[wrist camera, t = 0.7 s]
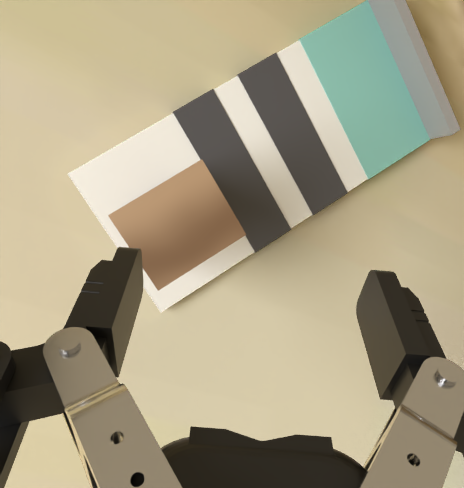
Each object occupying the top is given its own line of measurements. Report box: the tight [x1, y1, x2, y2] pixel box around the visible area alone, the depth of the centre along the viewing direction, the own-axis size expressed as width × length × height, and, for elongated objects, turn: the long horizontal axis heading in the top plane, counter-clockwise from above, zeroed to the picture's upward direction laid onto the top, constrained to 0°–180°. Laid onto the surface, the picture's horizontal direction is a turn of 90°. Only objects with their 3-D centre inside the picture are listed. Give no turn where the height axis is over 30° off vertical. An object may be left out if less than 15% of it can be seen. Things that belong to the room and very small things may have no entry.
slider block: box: [108, 159, 246, 291], centre depth 29 cm, size 5×6×12 cm
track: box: [68, 0, 460, 312], centre depth 35 cm, size 14×32×4 cm, turn 121°
